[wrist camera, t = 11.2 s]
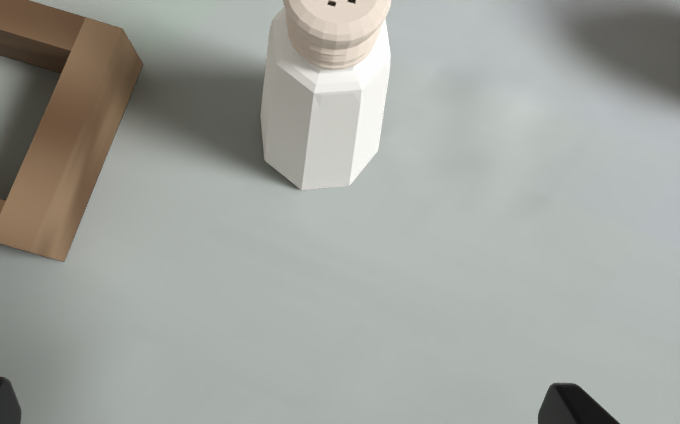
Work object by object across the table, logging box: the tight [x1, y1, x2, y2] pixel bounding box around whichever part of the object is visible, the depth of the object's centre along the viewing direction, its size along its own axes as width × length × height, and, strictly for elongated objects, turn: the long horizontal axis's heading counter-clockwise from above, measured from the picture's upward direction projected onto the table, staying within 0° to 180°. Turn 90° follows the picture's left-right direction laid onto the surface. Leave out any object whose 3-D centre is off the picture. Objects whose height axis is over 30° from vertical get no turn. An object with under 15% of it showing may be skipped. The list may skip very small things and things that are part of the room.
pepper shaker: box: [260, 0, 391, 190], centre depth 19 cm, size 5×5×11 cm
